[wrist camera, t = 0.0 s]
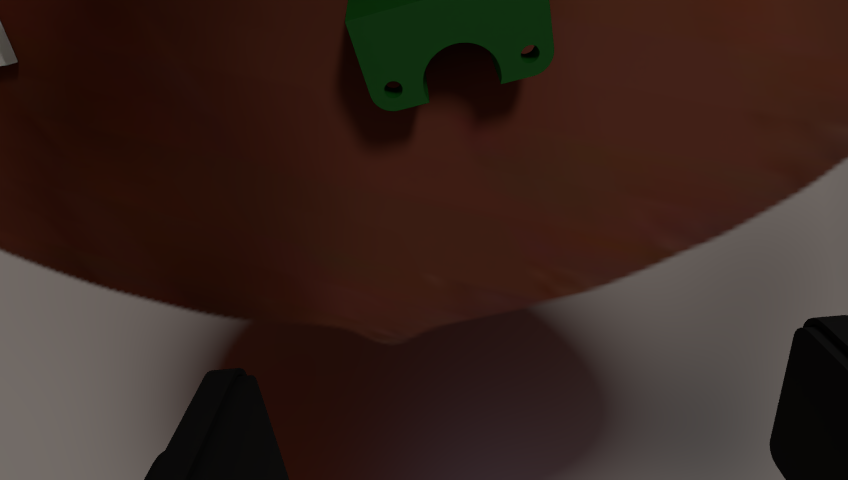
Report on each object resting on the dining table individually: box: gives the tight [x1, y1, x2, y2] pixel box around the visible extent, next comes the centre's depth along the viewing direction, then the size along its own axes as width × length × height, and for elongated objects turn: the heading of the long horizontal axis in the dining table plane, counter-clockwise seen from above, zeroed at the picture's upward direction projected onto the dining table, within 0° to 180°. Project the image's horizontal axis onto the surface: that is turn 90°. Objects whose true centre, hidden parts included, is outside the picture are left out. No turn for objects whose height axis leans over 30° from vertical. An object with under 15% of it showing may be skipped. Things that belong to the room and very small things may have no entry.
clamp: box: [345, 0, 554, 111], centre depth 34 cm, size 12×6×9 cm, turn 99°
